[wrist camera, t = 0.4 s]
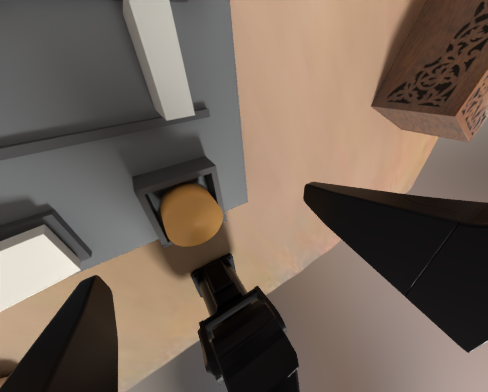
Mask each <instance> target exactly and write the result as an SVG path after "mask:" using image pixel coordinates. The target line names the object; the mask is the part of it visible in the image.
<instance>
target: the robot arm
mask: <svg viewBox="0 0 488 392" xmlns="http://www.w3.org/2000/svg"><path fill="white" fill-rule="evenodd" d="M303 199H304V202H305V203H306V204H307V205H308V206H309V207H310V209H311V210H312V211H313V212H314V213H315V214H316V215H317V216H318V217H319V218H320V219H321V221H322V222H323V223H324V224H325V225H326V226H328V227H329V228H330V229H331V230H332V231H333V232H334V233H335V234H336V235H337V236H339V237H340V238H341V239H342V240H343V241H344V242H345V243H346V244H348V245H349V246H350V247H351V248H352V249H353V250H354V251H355V252H356V253H357V254H358V255H360V256H361V257H362V258H363V259H364V260H365V261H366V262H367V263H368V264H370V265H371V266H372V267H373V268H374V269H375V270H376V271H377V272H378V273H380V274H381V275H382V276H383V277H384V278H385V279H386V280H387V281H388V282H390V283H391V284H392V285H393V286H394V287H395V288H396V289H397V290H398V291H400V292H401V293H402V294H403V295H404V296H405V297H406V298H407V299H408V300H409V301H410V302H411V303H412V304H414V305H415V306H416V307H417V308H418V309H419V310H420V311H421V312H422V313H424V314H425V315H426V316H427V317H428V318H429V319H430V320H431V321H432V322H434V323H435V324H436V325H437V326H438V327H439V328H440V329H441V330H442V331H444V332H445V333H446V334H447V335H448V336H449V337H450V338H451V339H452V340H453V341H454V342H456V343H457V344H458V345H459V346H460V347H461V348H463V349H464V350H465V351H466V352H468V353H469V352H471V351H473V350H474V349H476V348H477V347H479V346H481V345H482V344H484V343H486V342H487V341H488V203H483V202H474V201H462V200H451V199H442V198H432V197H423V196H415V195H407V194H398V193H392V192H385V191H377V190H370V189H363V188H355V187H348V186H340V185H333V184H326V183H318V182H311V183H308V184H306V185H305V187H304V197H303ZM191 277H192V279H193V281H194V284H195V286H196V288H197V290H198V292H199V295H200V297H203V299H204V301H205V304H206V307H207V309H208V312H209V315H210V317H209V318H207V319H205V320H204V321H203V320H202V321H201V322H199V325H200V329H199V330H198V335H199V338H200V342H201V346H202V351H203V357H204V363H205V368H206V371H207V372H208V373H211V374H213V376H214V378H216V380H217V382H218V384H219V385H221V384H222V383H223V382H225V385H226V387H227V390H228V392H300V391H299V382H298V374H297V369H298V368H299V364H298V359H297V354H296V352H295V350H294V348H293V347H292V345H291V343H290V341H289V340H288V338H287V336H286V334H285V333H286V332H287V329H286V326H285V324H284V322H283V320H282V318H281V316H280V314H279V312H278V311H277V309H275V307H274V305H273V304H272V303H271V302H270V300H269V299H268V298H267V297H266V295H265V294H264V293H263V292H262V291H261V289H260V288H259V287H258V286H256V287H254V289H253V290H251V291H249V292H248V293H247V291H246V289H245V288H244V286H243V284H242V283H241V281H240V279H239V278H238V276H237V274H236V271H235V265H234V260H233V256H232V254H227V255H225V256H223V257H221V258H219V259H218V260H216V261H214V262H212V263H210V264H208V265H206V266H204V267H202V268H200V269H198V270H196V271H194V272H192V273H191ZM0 392H118V336H117V327H116V319H115V311H114V303H113V295H112V291H111V289H110V288H109V286H108V285H107V284H106V283H105V282H104V281H103V280H102V279H101V278H100V277H99V276H97V275H94V276H92V277H89V278H87V279H85V280H83V281H81V282H80V283H79V284H78V286H77V287H76V288H75V290H74V291H73V292H72V294H71V295H70V296H69V298H68V299H67V300H66V301H65V303H64V304H63V305H62V307H61V308H60V309H59V311H58V312H57V313H56V315H55V316H54V317H53V319H52V320H51V321H50V323H49V324H48V325H47V327H46V328H45V329H44V331H43V332H42V333H41V334H40V336H39V337H38V338H37V340H36V341H35V342H34V344H33V345H32V346H31V348H30V349H29V350H28V352H27V353H26V354H25V356H24V357H23V358H22V360H21V361H20V362H19V363H18V365H17V366H16V367H15V369H14V370H13V371H12V373H11V374H10V375H9V377H8V378H7V379H6V381H5V382H4V383H3V385H2V386H1V387H0Z"/></svg>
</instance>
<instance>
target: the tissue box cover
mask: <svg viewBox="0 0 488 392" xmlns="http://www.w3.org/2000/svg"><path fill="white" fill-rule="evenodd" d="M371 107H373V108H374V109H375V110H376V111H378V112H379V113H380V114H382V115H383V116H384V117H386V118H387V119H388V120H390V121H391V122H392V123H394V124H395V125H396V126H398V127H399V128H400V129H401V130H407V131H412V132H417V133H422V134H427V135H433V136H438V137H444V138H448V139H454V140H459V141H464V142H470V140H471V139H472V138H473V136H474V135H475V134H476V133H477V131H478V130H479V128H480V127H481V126H482V125H483V123H484V122H485V121H486V119H487V118H488V0H427V1H426V3H425V5H424V7H423V9H422V11H421V13H420V14H419V16H418V18H417V20H416V22H415V24H414V26H413V28H412V30H411V32H410V33H409V35H408V37H407V39H406V41H405V43H404V45H403V47H402V49H401V51H400V52H399V54H398V56H397V58H396V60H395V62H394V64H393V66H392V68H391V69H390V71H389V73H388V75H387V77H386V79H385V81H384V83H383V85H382V87H381V88H380V90H379V92H378V94H377V96H376V98H375V100H374V102H373V104H372V105H371Z"/></svg>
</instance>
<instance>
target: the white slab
mask: <svg viewBox="0 0 488 392" xmlns="http://www.w3.org/2000/svg"><path fill="white" fill-rule="evenodd" d="M80 270H81V264H80V259H79V258H78V257H77V256H76V255H75V254H74V253H73V252H72V251H71V250H70V249H69V248H68V247H67V246H66V245H65V244H64V243H63V242H62V241H61V240H60V239H59V238H58V237H57V236H56V235H55V234H54V233H53V232H52V231H51V230H50V229H49V228H48V227H47V226H46V225H45V224H44V225H41V226H39V227H36V228H34V229H31V230H29V231H26V232H23V233H21V234H18V235H16V236H13V237H10V238H8V239H5V240H3V241H0V312H1V311H3V310H5V309H7V308H9V307H11V306H13V305H15V304H17V303H19V302H20V301H22V300H24V299H26V298H28V297H30V296H32V295H34V294H36V293H38V292H40V291H42V290H44V289H46V288H48V287H49V286H51V285H53V284H55V283H57V282H59V281H61V280H63V279H65V278H67V277H69V276H71V275H73V274H75V273H77V272H78V271H80Z"/></svg>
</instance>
